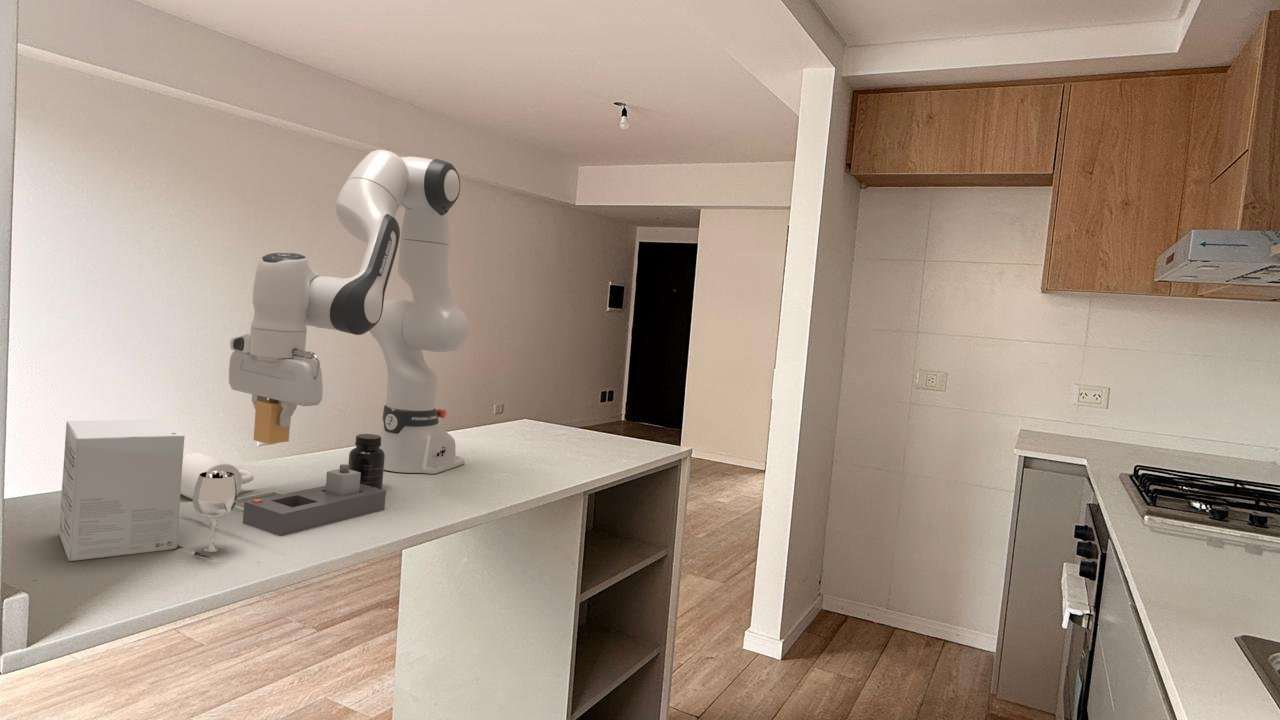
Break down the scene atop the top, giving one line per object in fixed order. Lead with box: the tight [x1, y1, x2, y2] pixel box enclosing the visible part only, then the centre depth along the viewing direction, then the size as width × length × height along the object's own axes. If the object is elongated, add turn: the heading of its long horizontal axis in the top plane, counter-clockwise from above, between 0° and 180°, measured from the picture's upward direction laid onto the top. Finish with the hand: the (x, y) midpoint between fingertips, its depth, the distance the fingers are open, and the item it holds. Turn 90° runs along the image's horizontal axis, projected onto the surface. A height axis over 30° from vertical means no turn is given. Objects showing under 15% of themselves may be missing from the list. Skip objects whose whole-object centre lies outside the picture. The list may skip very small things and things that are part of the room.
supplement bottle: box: [347, 433, 385, 490], centre depth 152 cm, size 7×7×12 cm
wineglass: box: [192, 471, 238, 559], centre depth 113 cm, size 6×6×12 cm
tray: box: [232, 490, 286, 513], centre depth 135 cm, size 11×9×2 cm
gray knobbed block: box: [325, 463, 361, 497], centre depth 136 cm, size 4×4×8 cm
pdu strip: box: [242, 484, 387, 537], centre depth 132 cm, size 22×9×5 cm, turn 154°
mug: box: [180, 452, 255, 501], centre depth 139 cm, size 12×10×8 cm
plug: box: [253, 398, 291, 445], centre depth 134 cm, size 4×4×8 cm
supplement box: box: [58, 418, 186, 562], centre depth 113 cm, size 13×13×18 cm
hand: (272, 423), depth 134 cm, fingers closed on plug, 4 cm apart
